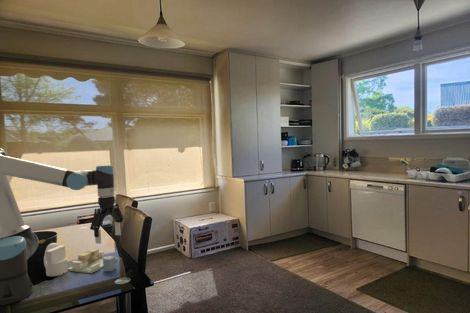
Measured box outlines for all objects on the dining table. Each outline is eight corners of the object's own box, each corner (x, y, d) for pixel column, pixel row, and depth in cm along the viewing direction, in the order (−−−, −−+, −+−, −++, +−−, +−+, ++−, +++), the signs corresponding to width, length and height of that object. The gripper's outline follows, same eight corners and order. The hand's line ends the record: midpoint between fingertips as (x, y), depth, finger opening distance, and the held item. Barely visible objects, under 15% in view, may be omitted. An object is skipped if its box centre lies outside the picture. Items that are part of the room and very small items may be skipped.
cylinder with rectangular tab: (57, 276, 142) (55, 251, 141) (41, 275, 144) (40, 251, 143) (71, 269, 150) (70, 245, 150) (56, 268, 152) (55, 245, 152)
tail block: (110, 271, 145) (109, 259, 145) (103, 271, 147) (102, 258, 147) (115, 268, 149) (115, 256, 149) (109, 267, 150) (108, 256, 150)
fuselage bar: (84, 265, 151) (84, 255, 151) (78, 265, 152) (78, 255, 152) (99, 258, 161) (98, 249, 161) (93, 257, 162) (92, 248, 162)
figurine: (53, 268, 152) (52, 245, 151) (40, 268, 153) (39, 245, 153) (64, 263, 159) (62, 241, 158) (51, 262, 160) (50, 240, 160)
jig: (91, 273, 144) (91, 265, 144) (67, 270, 149) (67, 262, 149) (117, 259, 161) (116, 252, 161) (95, 257, 166) (94, 250, 166)
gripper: (93, 201, 134) (95, 247, 135) (129, 192, 158) (131, 232, 158) (79, 200, 136) (82, 246, 137) (117, 192, 160) (119, 231, 161)
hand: (108, 239), depth 148 cm, fingers open, 13 cm apart
